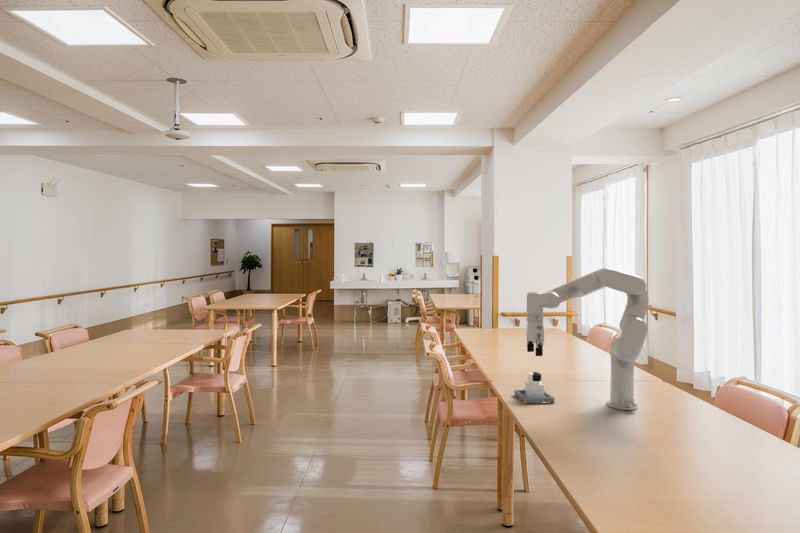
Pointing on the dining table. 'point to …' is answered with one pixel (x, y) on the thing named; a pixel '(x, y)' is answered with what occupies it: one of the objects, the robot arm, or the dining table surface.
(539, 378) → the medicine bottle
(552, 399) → the tray
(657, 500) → the dining table surface
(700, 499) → the dining table surface
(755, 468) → the dining table surface
